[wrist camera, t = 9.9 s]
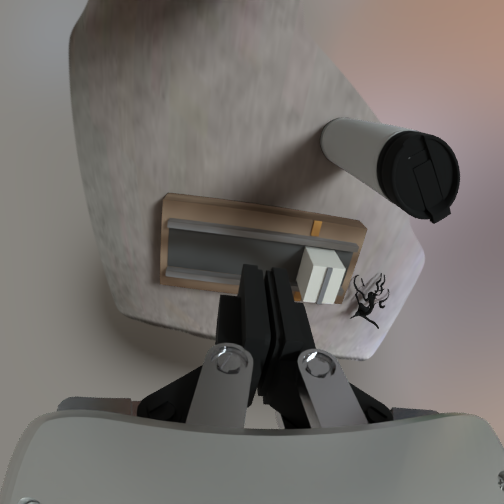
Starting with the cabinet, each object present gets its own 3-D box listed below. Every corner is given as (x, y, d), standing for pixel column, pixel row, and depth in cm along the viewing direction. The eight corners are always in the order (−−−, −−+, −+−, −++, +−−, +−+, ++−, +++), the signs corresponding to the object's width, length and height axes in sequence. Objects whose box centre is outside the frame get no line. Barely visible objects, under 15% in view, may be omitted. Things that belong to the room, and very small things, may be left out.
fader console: (168, 192, 38) (160, 202, 34) (359, 220, 40) (370, 232, 37) (164, 273, 43) (158, 289, 39) (336, 292, 46) (343, 308, 42)
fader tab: (305, 246, 38) (314, 266, 34) (334, 250, 39) (346, 270, 34) (296, 279, 40) (303, 302, 36) (324, 282, 41) (333, 305, 36)
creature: (359, 260, 45) (335, 305, 46) (376, 272, 40) (349, 321, 41) (393, 278, 47) (370, 319, 48) (411, 290, 42) (385, 334, 43)
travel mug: (333, 175, 38) (411, 240, 20) (311, 130, 35) (383, 157, 17) (373, 154, 36) (471, 203, 18) (353, 109, 34) (451, 122, 16)
